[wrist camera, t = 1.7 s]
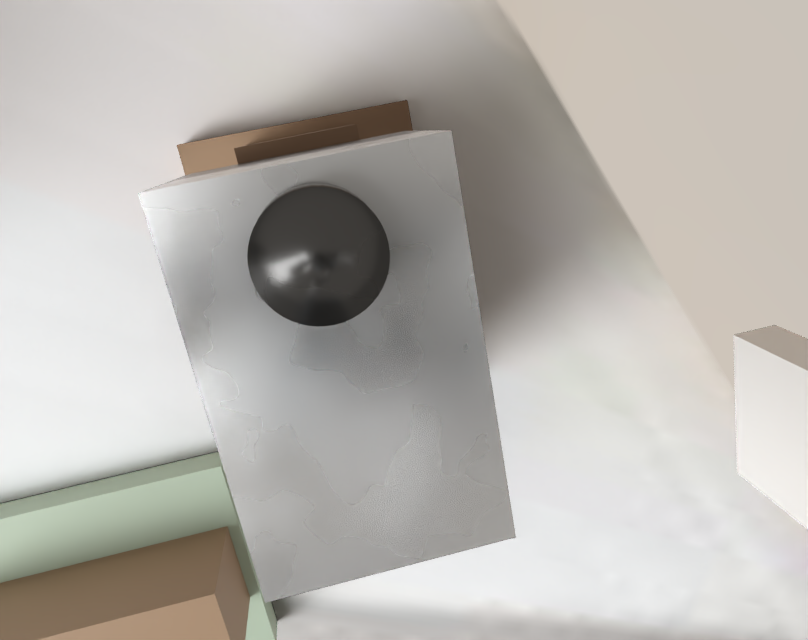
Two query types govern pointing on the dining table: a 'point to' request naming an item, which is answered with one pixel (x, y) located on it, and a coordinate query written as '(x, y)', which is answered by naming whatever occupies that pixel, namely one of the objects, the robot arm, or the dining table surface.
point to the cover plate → (339, 356)
